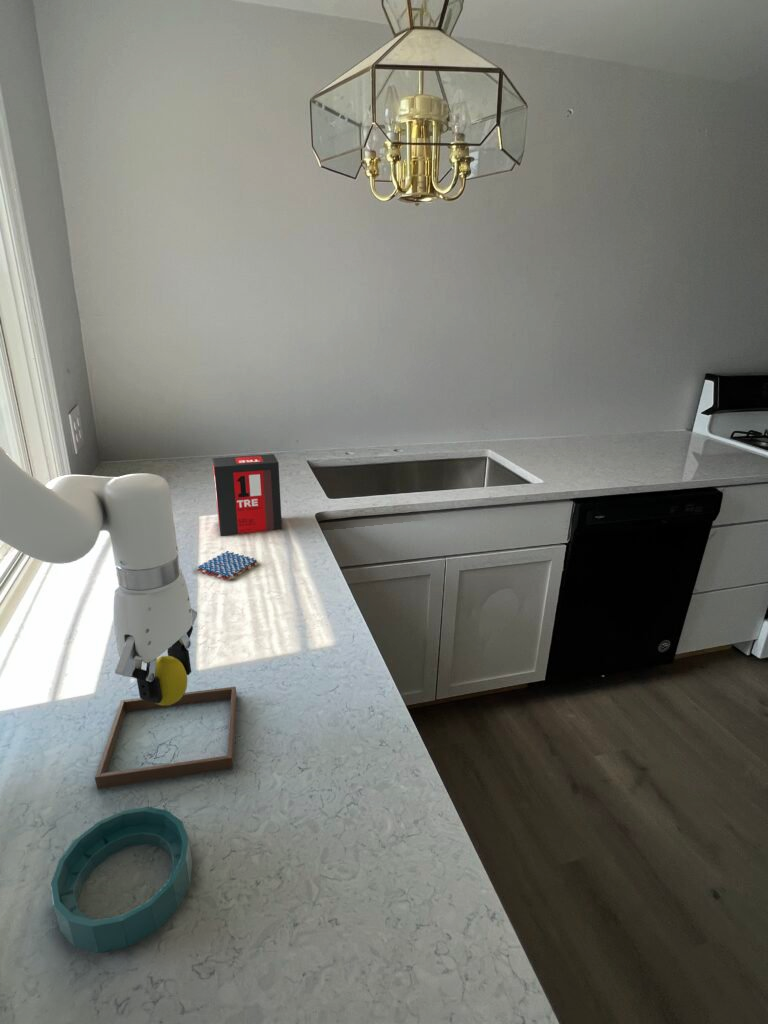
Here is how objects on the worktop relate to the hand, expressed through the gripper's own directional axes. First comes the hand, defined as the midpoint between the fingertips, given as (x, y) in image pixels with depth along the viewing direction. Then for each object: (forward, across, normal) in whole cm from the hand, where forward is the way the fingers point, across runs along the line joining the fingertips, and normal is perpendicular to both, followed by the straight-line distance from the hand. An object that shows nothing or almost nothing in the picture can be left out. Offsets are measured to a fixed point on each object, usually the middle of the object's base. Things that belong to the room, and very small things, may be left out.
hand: (166, 684), depth 78 cm
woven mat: (+10, -50, -23) cm, 56 cm away
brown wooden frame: (+10, 0, 0) cm, 10 cm away
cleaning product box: (+10, -74, -31) cm, 81 cm away
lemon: (+4, 0, 0) cm, 4 cm away
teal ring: (+10, +20, +9) cm, 24 cm away
